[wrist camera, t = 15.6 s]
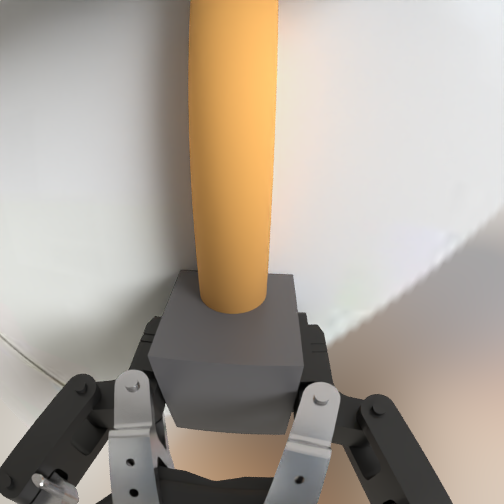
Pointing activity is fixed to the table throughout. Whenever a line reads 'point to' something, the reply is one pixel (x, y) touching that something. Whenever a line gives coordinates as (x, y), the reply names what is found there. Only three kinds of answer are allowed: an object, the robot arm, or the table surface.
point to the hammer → (231, 238)
